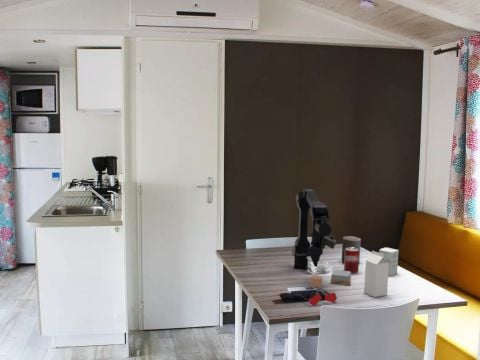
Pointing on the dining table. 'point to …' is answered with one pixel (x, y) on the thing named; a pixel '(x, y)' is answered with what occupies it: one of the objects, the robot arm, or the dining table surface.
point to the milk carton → (376, 275)
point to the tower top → (341, 275)
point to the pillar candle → (350, 245)
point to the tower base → (341, 282)
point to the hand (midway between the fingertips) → (316, 263)
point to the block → (316, 281)
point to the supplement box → (391, 259)
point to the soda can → (351, 260)
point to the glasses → (328, 297)
